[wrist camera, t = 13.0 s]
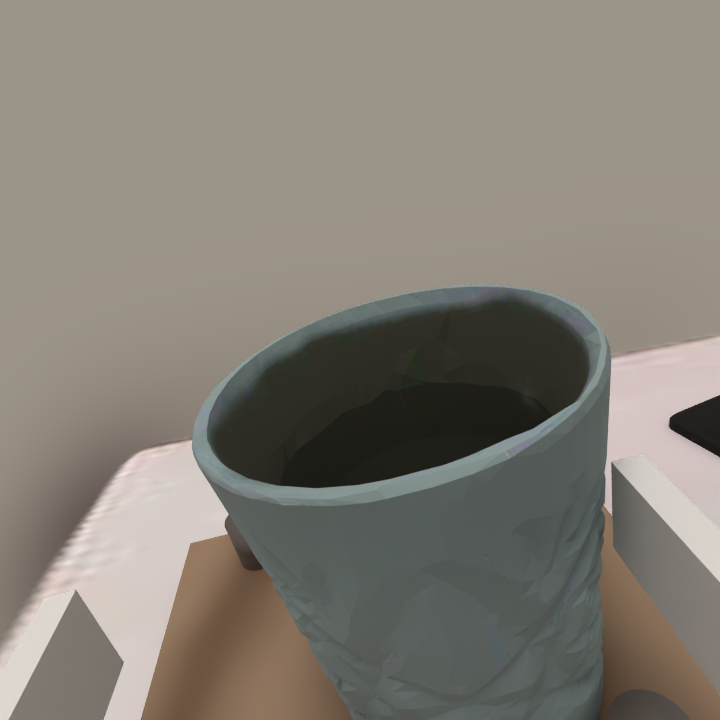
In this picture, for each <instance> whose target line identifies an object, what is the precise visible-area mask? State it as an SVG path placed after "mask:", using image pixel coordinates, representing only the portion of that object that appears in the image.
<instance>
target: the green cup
mask: <svg viewBox="0 0 720 720" xmlns="http://www.w3.org/2000/svg"><path fill="white" fill-rule="evenodd" d="M610 375H611V354H610V346H609V344H608V341H607V339H606V336H605V333H604V331H603V330H602V328H601V327H600V325H599V324H598V323H597V321H596V320H595V318H594V317H593V316H592V315H591V314H590V313H588V312H587V311H586V310H585V309H583V308H582V307H581V306H579V305H577V304H575V303H573V302H571V301H569V300H567V299H565V298H563V297H561V296H558V295H554V294H551V293H548V292H545V291H540V290H535V289H529V288H523V287H516V286H508V285H507V286H505V285H460V286H448V287H441V288H433V289H426V290H419V291H414V292H409V293H404V294H400V295H395V296H391V297H387V298H383V299H378V300H375V301H371V302H367V303H364V304H361V305H357V306H354V307H351V308H348V309H345V310H342V311H340V312H337V313H334V314H331V315H328V316H325V317H322V318H320V319H318V320H316V321H314V322H312V323H309V324H307V325H305V326H303V327H301V328H298V329H296V330H294V331H292V332H290V333H288V334H286V335H284V336H282V337H280V338H278V339H277V340H275V341H273V342H272V343H270V344H269V345H267V346H266V347H264V348H263V349H261V350H260V351H258V352H257V353H255V354H254V355H252V356H251V357H249V358H248V359H246V360H245V361H243V362H242V363H241V364H240V365H239V366H238V367H237V368H236V369H234V370H233V371H232V372H231V373H230V374H229V375H228V376H227V377H226V378H225V379H223V380H222V381H221V382H220V383H219V384H218V385H217V386H216V387H215V389H214V390H213V391H212V393H211V394H210V395H209V397H208V398H207V399H206V400H205V402H204V404H203V406H202V408H201V410H200V412H199V415H198V417H197V419H196V421H195V423H194V427H193V437H192V449H193V454H194V457H195V459H196V461H197V463H198V466H199V468H200V469H201V471H202V472H203V474H204V476H205V477H206V479H207V480H208V482H209V483H210V485H211V487H212V488H213V490H214V491H215V493H216V494H217V496H218V498H219V499H220V501H221V502H222V504H223V505H224V507H225V509H226V510H227V512H228V513H229V515H230V517H231V518H232V520H233V521H234V523H235V524H236V526H237V528H238V529H239V531H240V532H241V534H242V536H243V537H244V539H245V540H246V542H247V544H248V545H249V547H250V549H251V550H252V552H253V554H254V555H255V557H256V559H257V560H258V561H259V563H260V564H261V565H262V567H263V568H264V570H265V571H266V572H267V574H268V575H269V576H270V577H271V579H272V580H273V586H274V588H275V590H276V592H277V593H278V595H279V597H280V598H281V599H283V600H284V602H285V608H286V609H287V610H288V612H289V613H290V615H291V616H292V617H293V619H294V622H295V624H296V626H297V627H298V629H299V631H300V633H302V634H303V635H304V636H306V637H307V638H308V642H309V647H310V649H311V651H312V653H313V655H314V657H315V658H316V659H317V661H318V662H319V663H320V667H321V668H322V670H323V671H324V673H325V674H326V676H327V677H328V678H329V680H330V681H331V682H332V684H333V685H334V687H335V690H336V692H337V693H338V695H339V696H340V698H341V699H342V701H343V702H344V703H345V705H346V706H347V708H348V710H349V713H350V715H351V718H352V719H353V720H597V719H598V715H599V712H600V708H601V702H602V692H603V652H602V647H603V643H604V640H603V628H604V621H603V614H602V611H601V608H600V606H601V595H602V593H601V590H600V587H599V584H598V580H599V579H600V577H601V572H602V566H603V564H602V557H601V551H602V547H603V544H604V537H603V533H604V529H605V516H604V513H603V511H602V507H603V505H604V503H605V474H604V471H605V465H606V458H607V437H608V416H609V396H610Z"/></svg>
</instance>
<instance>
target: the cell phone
mask: <svg viewBox="0 0 720 720" xmlns="http://www.w3.org/2000/svg"><path fill="white" fill-rule="evenodd" d="M669 427H670V429H671V430H673V431H675V432H676V433H678V434H680V435H682V436H683V437H685V438H687V439H689V440H690V441H692V442H694V443H696V444H698V445H699V446H701V447H703V448H705V449H706V450H708V451H710V452H712V453H714V454H715V455H717V456H719V457H720V395H719V396H717V397H714V398H712V399H709V400H707V401H705V402H702V403H700V404H697V405H695V406H693V407H690V408H688V409H685V410H683V411H681V412H678V413H676V414H674V415H673V416H672V417H670V422H669Z"/></svg>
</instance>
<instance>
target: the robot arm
mask: <svg viewBox="0 0 720 720" xmlns="http://www.w3.org/2000/svg"><path fill="white" fill-rule="evenodd" d="M611 467H612V515H613V548H614V549H615V550H616V552H617V553H618V555H619V556H620V557H621V559H622V560H623V561H624V563H625V564H626V566H627V567H628V568H629V570H630V571H631V573H632V574H633V575H634V577H635V578H636V579H637V581H638V582H639V584H640V585H641V586H642V588H643V589H644V591H645V592H646V593H647V595H648V596H649V598H650V599H651V600H652V602H653V603H654V604H655V606H656V607H657V609H658V610H659V611H660V613H661V614H662V616H663V617H664V618H665V620H666V621H667V622H668V624H669V625H670V627H671V628H672V629H673V631H674V632H675V634H676V635H677V636H678V638H679V639H680V641H681V642H682V643H683V645H684V646H685V647H686V649H687V650H688V652H689V653H690V654H691V656H692V657H693V659H694V660H695V661H696V663H697V664H698V666H699V667H700V668H701V670H702V671H703V672H704V674H705V675H706V677H707V678H708V679H709V681H710V682H711V684H712V685H713V686H714V688H715V689H716V690H717V692H718V693H719V695H720V529H719V528H718V527H717V526H716V525H715V524H714V523H713V522H712V521H711V520H710V519H709V518H708V517H707V516H706V515H705V514H704V513H703V512H702V511H701V510H700V509H699V508H698V507H697V506H696V505H695V504H694V503H693V502H692V501H690V500H689V499H688V498H687V497H686V496H685V495H684V494H683V493H682V492H681V491H680V490H679V489H678V488H677V487H676V486H675V485H674V484H673V483H672V482H671V481H670V480H669V479H668V478H667V477H666V476H665V475H664V474H663V473H662V472H661V471H660V470H659V469H658V468H657V467H656V466H655V465H654V464H653V463H652V462H651V461H650V460H649V459H648V458H647V457H646V456H645V455H644V454H642V455H638V456H634V457H630V458H626V459H621V460H617V461H613V462H611ZM123 663H124V662H123V661H122V659H121V657H120V656H119V654H118V653H117V651H116V650H115V648H114V647H113V645H112V644H111V642H110V641H109V639H108V638H107V636H106V635H105V633H104V632H103V630H102V629H101V627H100V626H99V624H98V623H97V621H96V620H95V618H94V617H93V615H92V613H91V612H90V610H89V609H88V607H87V606H86V604H85V603H84V601H83V600H82V598H81V597H80V595H79V594H78V592H77V591H76V590H73V591H68V592H64V593H60V594H56V595H52V596H48V597H45V598H44V600H43V602H42V604H41V605H40V607H39V609H38V610H37V612H36V614H35V616H34V617H33V619H32V621H31V623H30V624H29V626H28V628H27V630H26V631H25V633H24V635H23V637H22V638H21V640H20V642H19V643H18V645H17V647H16V649H15V650H14V652H13V654H12V656H11V657H10V659H9V661H8V663H7V664H6V666H5V668H4V670H3V671H2V673H1V675H0V720H103V719H104V716H105V714H106V711H107V708H108V705H109V702H110V700H111V697H112V694H113V691H114V688H115V686H116V683H117V680H118V677H119V674H120V672H121V669H122V666H123Z"/></svg>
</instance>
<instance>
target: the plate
mask: <svg viewBox="0 0 720 720" xmlns="http://www.w3.org/2000/svg"><path fill="white" fill-rule="evenodd" d="M602 511H603V513H604V516H605V529H604V533H603V537H604V544H603V547H602V551H601V557H602V564H603V566H602V572H601V577H600V579H599V580H598V584H599V587H600V590H601V593H602V595H601V606H600V608H601V611H602V614H603V621H604V628H603V640H604V643H603V647H602V652H603V692H602V702H601V708H600V712H599V715H598V719H597V720H720V695H719V693H718V692H717V690H716V689H715V688H714V686H713V685H712V684H711V682H710V681H709V679H708V678H707V677H706V675H705V674H704V672H703V671H702V670H701V668H700V667H699V666H698V664H697V663H696V661H695V660H694V659H693V657H692V656H691V654H690V653H689V652H688V650H687V649H686V647H685V646H684V645H683V643H682V642H681V641H680V639H679V638H678V636H677V635H676V634H675V632H674V631H673V629H672V628H671V627H670V625H669V624H668V622H667V621H666V620H665V618H664V617H663V616H662V614H661V613H660V611H659V610H658V609H657V607H656V606H655V604H654V603H653V602H652V600H651V599H650V598H649V596H648V595H647V593H646V592H645V591H644V589H643V588H642V586H641V585H640V584H639V582H638V581H637V579H636V578H635V577H634V575H633V574H632V573H631V571H630V570H629V568H628V567H627V566H626V564H625V563H624V561H623V560H622V559H621V557H620V556H619V555H618V553H617V552H616V550H615V549H614V548H613V517H612V516H611V514H610V513H609V512H608V511H607V509H606V508H605V507H604V506H603V507H602ZM225 528H226V530H227V533H228V534H227V535H223V536H219V537H215V538H211V539H207V540H203V541H199V542H195V543H191V544H190V547H189V551H188V554H187V558H186V561H185V565H184V569H183V572H182V576H181V579H180V583H179V586H178V590H177V593H176V597H175V600H174V604H173V608H172V611H171V615H170V618H169V622H168V625H167V629H166V632H165V636H164V639H163V643H162V646H161V650H160V654H159V657H158V661H157V664H156V668H155V671H154V675H153V678H152V682H151V685H150V689H149V692H148V696H147V700H146V703H145V707H144V710H143V714H142V717H141V720H353V719H352V718H351V715H350V713H349V710H348V708H347V706H346V705H345V703H344V702H343V701H342V699H341V698H340V696H339V695H338V693H337V692H336V690H335V687H334V685H333V684H332V682H331V681H330V680H329V678H328V677H327V676H326V674H325V673H324V671H323V670H322V668H321V667H320V663H319V662H318V661H317V659H316V658H315V657H314V655H313V653H312V651H311V649H310V647H309V642H308V638H307V637H306V636H304V635H303V634H302V633H300V631H299V629H298V627H297V626H296V624H295V622H294V619H293V617H292V616H291V615H290V613H289V612H288V610H287V609H286V608H285V602H284V600H283V599H281V598H280V597H279V595H278V593H277V592H276V590H275V588H274V586H273V580H272V579H271V577H270V576H269V575H268V574H267V572H266V571H265V570H264V568H263V567H262V565H261V564H260V563H259V561H258V560H257V559H256V557H255V555H254V554H253V552H252V550H251V549H250V547H249V545H248V544H247V542H246V540H245V539H244V537H243V536H242V534H241V532H240V531H239V529H238V528H237V526H236V524H235V523H234V521H233V520H232V518H231V517H230V515H228V517H227V518H226V520H225Z"/></svg>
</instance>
